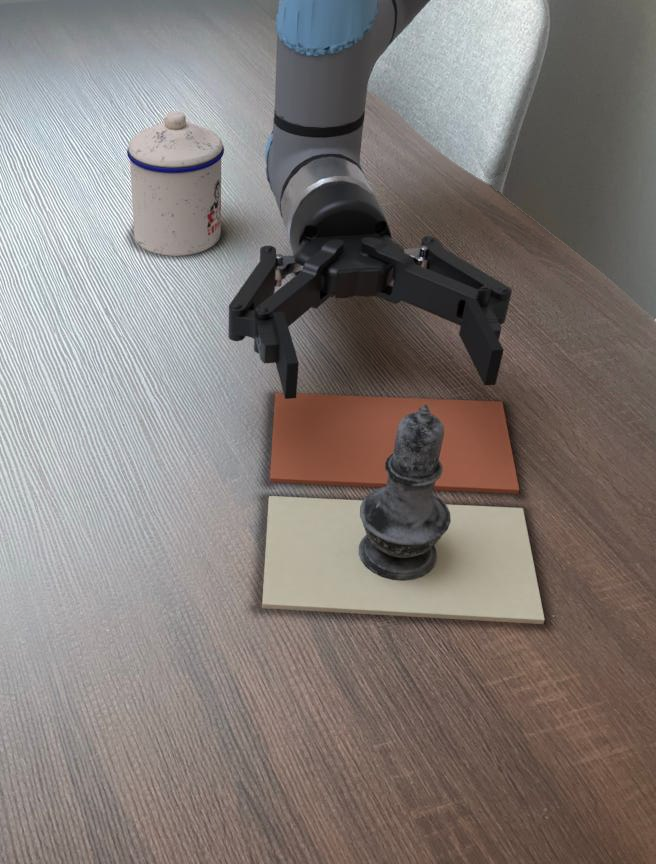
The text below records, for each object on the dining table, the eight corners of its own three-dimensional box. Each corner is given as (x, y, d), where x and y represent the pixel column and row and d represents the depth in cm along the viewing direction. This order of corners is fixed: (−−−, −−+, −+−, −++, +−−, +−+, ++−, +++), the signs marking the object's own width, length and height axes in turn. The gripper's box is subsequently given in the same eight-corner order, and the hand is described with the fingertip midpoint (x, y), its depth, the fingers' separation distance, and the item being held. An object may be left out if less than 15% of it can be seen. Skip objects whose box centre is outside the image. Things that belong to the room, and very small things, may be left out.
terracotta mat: (500, 407, 82) (502, 401, 81) (517, 496, 74) (519, 489, 74) (274, 398, 83) (275, 392, 83) (269, 484, 76) (270, 478, 75)
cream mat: (521, 514, 73) (523, 507, 73) (542, 626, 66) (545, 619, 65) (268, 501, 74) (268, 495, 74) (261, 610, 67) (262, 603, 67)
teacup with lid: (229, 255, 99) (231, 130, 91) (136, 262, 99) (129, 137, 90) (211, 200, 107) (211, 81, 99) (125, 207, 107) (118, 87, 98)
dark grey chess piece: (454, 542, 70) (490, 393, 61) (422, 595, 67) (455, 446, 58) (374, 514, 72) (398, 367, 63) (339, 564, 69) (359, 416, 60)
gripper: (478, 261, 86) (563, 409, 71) (181, 280, 85) (206, 433, 70) (497, 170, 80) (592, 311, 66) (179, 189, 79) (206, 336, 65)
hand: (393, 375), depth 68 cm, fingers open, 13 cm apart
